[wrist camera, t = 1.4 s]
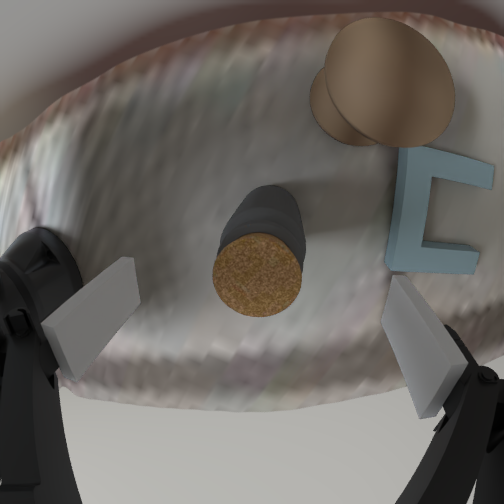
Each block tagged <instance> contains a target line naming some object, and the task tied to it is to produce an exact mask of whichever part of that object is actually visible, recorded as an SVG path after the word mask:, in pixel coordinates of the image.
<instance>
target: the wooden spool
mask: <svg viewBox="0 0 504 504" xmlns="http://www.w3.org/2000/svg"><path fill="white" fill-rule="evenodd" d="M310 105H311V109H312V112H313V115H314V117H315V119H316V121H317V123H318V124H319V125H320V127H321V128H322V129H323V130H324V131H325V132H326V133H327V134H328V135H329V136H331V137H332V138H334V139H335V140H337V141H339V142H341V143H344V144H347V145H352V146H369V145H374V144H376V143H379V144H382V145H386V146H390V147H401V148H413V147H419V146H422V145H425V144H428V143H430V142H432V141H434V140H435V139H436V138H438V137H439V136H440V135H441V134H442V133H443V132H444V131H445V129H446V128H447V126H448V125H449V122H450V120H451V118H452V115H453V111H454V105H455V90H454V84H453V80H452V76H451V73H450V71H449V69H448V66H447V64H446V62H445V61H444V59H443V57H442V56H441V54H440V53H439V51H438V50H437V49H436V48H435V46H434V45H433V44H432V43H431V42H430V41H429V40H428V39H427V38H426V37H424V36H423V35H422V34H420V33H419V32H418V31H416V30H415V29H413V28H411V27H410V26H408V25H405V24H403V23H401V22H398V21H395V20H391V19H386V18H377V17H376V18H365V19H360V20H358V21H355V22H353V23H351V24H349V25H347V26H346V27H345V28H343V29H342V30H341V31H340V32H339V33H338V34H337V35H336V37H335V39H334V40H333V42H332V44H331V46H330V48H329V50H328V53H327V55H326V60H325V67H324V68H323V69H321V71H320V72H319V73H318V74H317V76H316V78H315V79H314V82H313V84H312V87H311V91H310Z"/></svg>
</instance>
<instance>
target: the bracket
mask: <svg viewBox="0 0 504 504" xmlns="http://www.w3.org/2000/svg"><path fill="white" fill-rule="evenodd" d="M493 174H494V166H493V165H490V164H487V163H484V162H481V161H477V160H474V159H471V158H467V157H464V156H460V155H457V154H453V153H449V152H445V151H441V150H437V149H433V148H428V147H424V146H419V147H413V148H401V147H399V156H398V169H397V180H396V189H395V198H394V206H393V213H392V220H391V227H390V233H389V239H388V245H387V250H386V255H385V261H384V262H385V263H386V265H387V266H388V267H389V269H390V270H391V271H405V272H427V273H450V274H474V272H475V268H476V265H477V261H478V257H479V254H480V252H478V251H477V250H476V249H474V248H473V247H471V246H470V245H461V244H451V243H441V242H430V241H422V239H423V234H424V228H425V223H426V217H427V210H428V204H429V197H430V189H431V180H432V177H437V178H442V179H447V180H452V181H456V182H461V183H465V184H469V185H474V186H478V187H482V188H485V189H489V190H492V183H493Z"/></svg>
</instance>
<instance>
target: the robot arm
mask: <svg viewBox="0 0 504 504" xmlns="http://www.w3.org/2000/svg"><path fill="white" fill-rule="evenodd" d="M140 304H141V300H140V295H139V289H138V283H137V276H136V270H135V263H134V258H133V257H121V258H119V259H118V260H117V261H115V262H114V263H113V264H112V265H110V266H109V267H108V268H106V269H105V270H104V271H103V272H101V273H100V274H99V275H98V276H96V277H95V278H94V279H93V280H91V281H90V282H89V283H88V284H86V285H85V286H84V287H83V286H82V280H81V277H80V273H79V270H78V268H77V265H76V263H75V261H74V259H73V257H72V255H71V254H70V252H69V251H68V249H67V248H66V246H65V245H64V244H63V243H62V242H61V240H60V239H59V238H58V237H56V236H55V235H54V234H53V233H51V232H50V231H48V230H45V229H43V228H33V229H31V230H28V231H26V232H24V233H22V234H21V235H20V236H18V237H17V238H16V240H15V241H14V242H13V243H12V244H11V245H10V247H9V248H8V249H7V250H6V251H5V253H4V254H3V255H2V256H1V258H0V481H1V485H0V504H82V501H81V498H80V494H79V491H78V488H77V484H76V481H75V478H74V474H73V470H72V466H71V462H70V458H69V453H68V448H67V443H66V438H65V433H64V427H63V420H62V414H61V406H60V398H59V387H58V378H57V375H56V373H55V371H56V370H57V369H58V368H60V370H61V372H62V374H63V376H64V377H65V378H67V379H69V380H72V381H74V382H78V381H79V380H80V378H81V377H82V376H83V374H84V373H85V372H86V370H87V369H88V368H89V366H90V365H91V364H92V363H93V361H94V360H95V359H96V358H97V356H98V355H99V354H100V352H101V351H102V350H103V349H104V347H105V346H106V345H107V344H108V342H109V341H110V340H111V339H112V337H113V336H114V335H115V334H116V333H117V331H118V330H119V329H120V328H121V326H122V325H123V324H124V323H125V322H126V320H127V319H128V318H129V317H130V316H131V314H132V313H133V312H134V311H135V310H136V308H137V307H138V306H139V305H140ZM381 324H382V326H383V328H384V330H385V333H386V335H387V337H388V340H389V342H390V344H391V347H392V349H393V351H394V354H395V356H396V359H397V361H398V363H399V366H400V368H401V371H402V373H403V376H404V379H405V381H406V384H407V386H408V389H409V392H410V394H411V397H412V400H413V403H414V405H415V408H416V411H417V414H418V417H419V419H423V418H429V417H435V416H436V415H437V414H438V412H439V410H440V409H441V408H442V406H443V408H444V410H445V413H446V414H445V415H444V416H443V418H442V419H441V420H440V422H439V423H438V425H437V426H436V427H435V429H434V430H433V431H436V433H435V435H434V437H433V439H432V441H431V443H430V445H429V447H428V449H427V451H426V453H425V455H424V457H423V459H422V460H421V462H420V464H419V466H418V468H417V469H416V472H415V473H414V475H413V476H412V478H411V480H410V481H409V483H408V484H407V486H406V488H405V489H404V491H403V493H402V494H401V495H400V497H399V498H398V500H397V501H396V503H395V504H466V503H467V501H468V499H469V496H470V494H471V492H472V489H473V486H474V484H475V481H476V479H477V481H476V488H475V494H474V499H473V504H504V379H499V377H498V375H497V374H496V372H494V370H492V369H491V368H489V367H486V366H479V365H478V364H477V362H476V361H475V359H474V358H473V356H472V355H471V353H470V352H469V350H468V349H467V347H466V346H465V344H464V343H463V341H462V340H460V337H459V336H458V334H457V333H456V332H455V331H454V330H453V329H452V328H451V327H449V326H448V325H443V324H442V323H441V321H440V320H439V318H438V317H437V316H436V314H435V313H434V311H433V310H432V309H431V307H430V306H429V305H428V303H427V302H426V301H425V299H424V298H423V297H422V295H421V294H420V293H419V291H418V290H417V289H416V288H415V286H414V285H413V284H412V283H411V281H410V280H409V279H408V277H407V276H404V275H393V276H392V281H391V285H390V289H389V293H388V297H387V301H386V304H385V308H384V312H383V315H382V319H381Z"/></svg>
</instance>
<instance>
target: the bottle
mask: <svg viewBox="0 0 504 504" xmlns="http://www.w3.org/2000/svg"><path fill="white" fill-rule="evenodd" d="M305 254H306V240H305V235H304V231H303V226H302V221H301V217H300V213H299V209H298V206H297V203H296V201H295V199H294V198H293V197H292V195H291V194H290V193H289V192H287V191H286V190H284V189H283V188H280V187H277V186H271V185H268V186H262V187H259V188H256V189H255V190H253V191H252V192H250V193H249V194H248V195H247V197H246V198H245V199H244V200H243V202H242V203H241V204H240V206H239V207H238V209H237V210H236V211H235V213H234V214H233V215H232V217H231V218H230V220H229V221H228V223H227V225H226V226H225V228H224V230H223V233H222V236H221V241H220V247H219V249H218V253H217V259H216V261H215V263H214V267H213V283H214V287H215V289H216V292H217V294H218V295H219V297H220V298H221V300H222V301H223V302H224V303H225V304H226V305H227V306H229V307H230V308H231V309H233V310H235V311H236V312H238V313H241V314H243V315H247V316H252V317H266V316H271V315H274V314H277V313H279V312H281V311H283V310H285V309H286V308H287V307H288V306H289V305H291V303H292V302H293V301H294V300H295V298H296V297H297V295H298V293H299V291H300V288H301V281H302V272H303V262H304V259H305Z"/></svg>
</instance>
